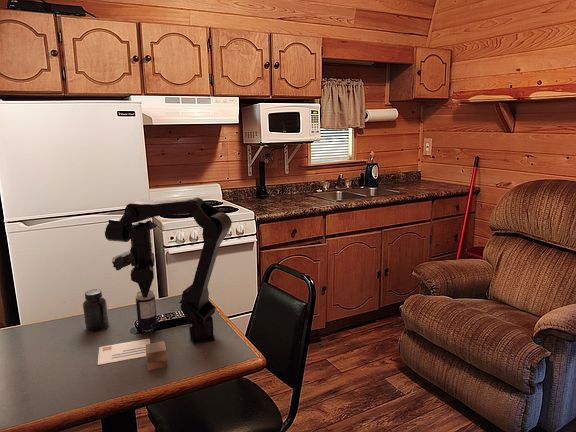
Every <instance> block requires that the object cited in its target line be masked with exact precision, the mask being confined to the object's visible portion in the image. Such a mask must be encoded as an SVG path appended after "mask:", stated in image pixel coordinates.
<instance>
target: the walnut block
mask: <svg viewBox="0 0 576 432" xmlns="http://www.w3.org/2000/svg"><path fill="white" fill-rule="evenodd" d="M145 357H146V365H147V371H153V370H157V369H164V368H167V367H168V355H167V348H166V343H165V341H158V342H152V343H151V342H150V344H146V356H145Z"/></svg>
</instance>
